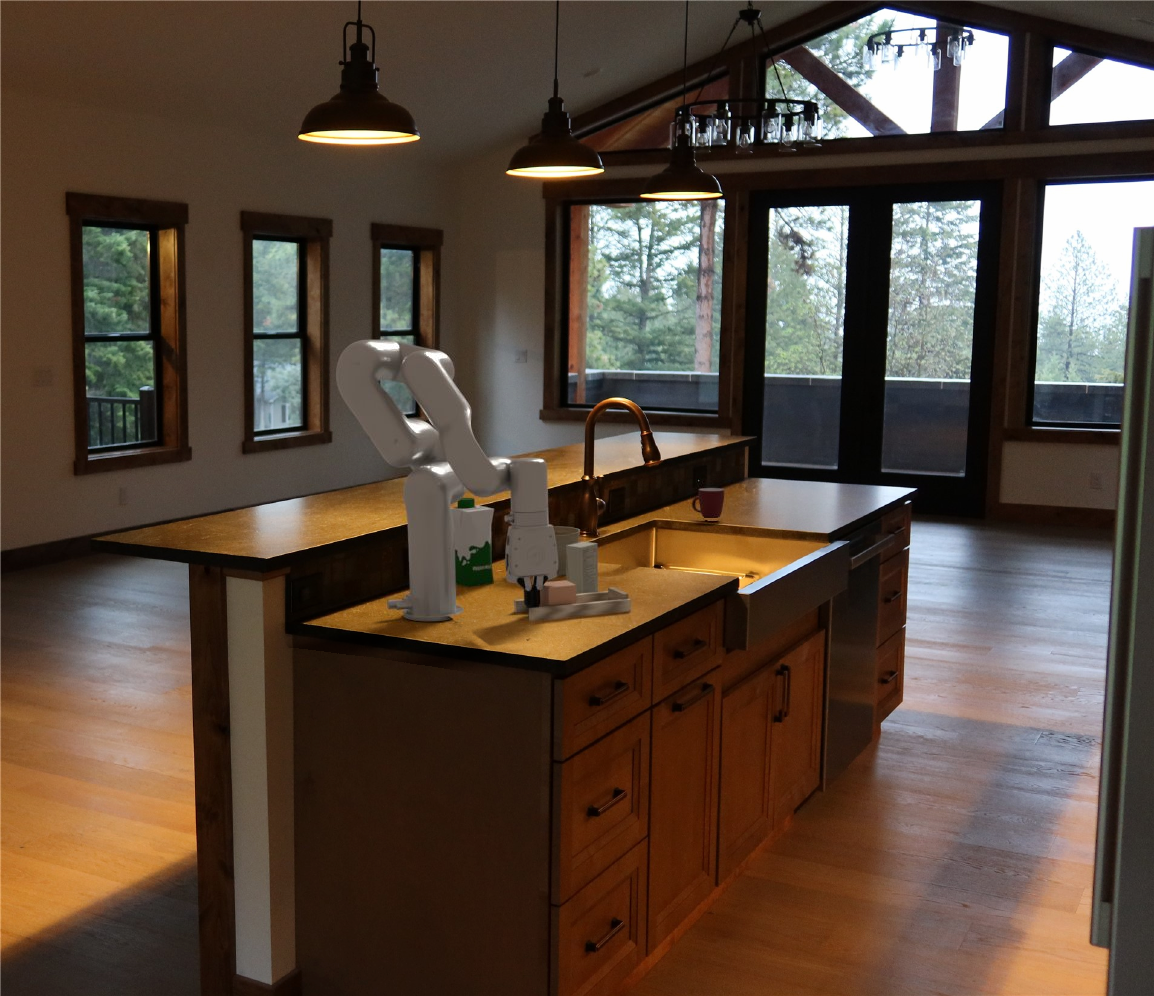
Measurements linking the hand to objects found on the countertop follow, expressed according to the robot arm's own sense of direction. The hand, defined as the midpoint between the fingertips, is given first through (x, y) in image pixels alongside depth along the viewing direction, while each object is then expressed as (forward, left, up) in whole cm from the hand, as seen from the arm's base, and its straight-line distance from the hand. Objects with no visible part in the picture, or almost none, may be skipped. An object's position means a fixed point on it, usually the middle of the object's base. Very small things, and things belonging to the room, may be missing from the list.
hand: (532, 608), depth 247 cm
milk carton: (+1, +42, -3) cm, 42 cm away
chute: (+9, 0, -3) cm, 9 cm away
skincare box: (+18, +16, -3) cm, 24 cm away
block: (+6, 0, -2) cm, 6 cm away
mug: (+99, +106, -3) cm, 145 cm away
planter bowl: (+21, +45, -3) cm, 50 cm away
